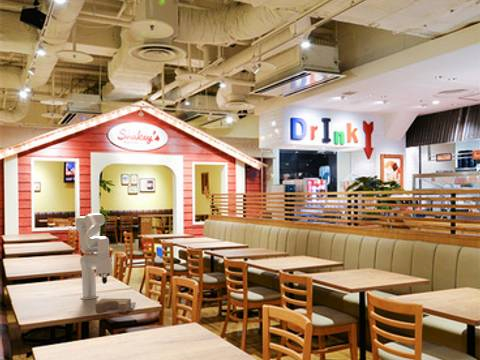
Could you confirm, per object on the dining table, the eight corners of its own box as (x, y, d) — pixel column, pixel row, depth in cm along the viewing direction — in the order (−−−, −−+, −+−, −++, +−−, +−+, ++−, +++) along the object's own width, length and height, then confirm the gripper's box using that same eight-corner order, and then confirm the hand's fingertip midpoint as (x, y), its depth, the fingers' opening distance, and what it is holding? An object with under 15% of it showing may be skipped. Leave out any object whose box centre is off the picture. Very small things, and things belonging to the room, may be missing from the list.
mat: (105, 305, 320) (105, 304, 320) (135, 303, 323) (135, 302, 323) (102, 311, 304) (102, 310, 304) (133, 309, 307) (133, 308, 307)
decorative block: (95, 312, 301) (125, 312, 299) (95, 303, 300) (125, 303, 299) (101, 306, 312) (131, 306, 310) (101, 298, 311) (130, 298, 310)
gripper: (91, 257, 309) (92, 285, 309) (114, 256, 312) (115, 283, 311) (93, 256, 317) (94, 283, 316) (115, 254, 319) (116, 281, 319)
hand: (104, 283), depth 314 cm, fingers closed
